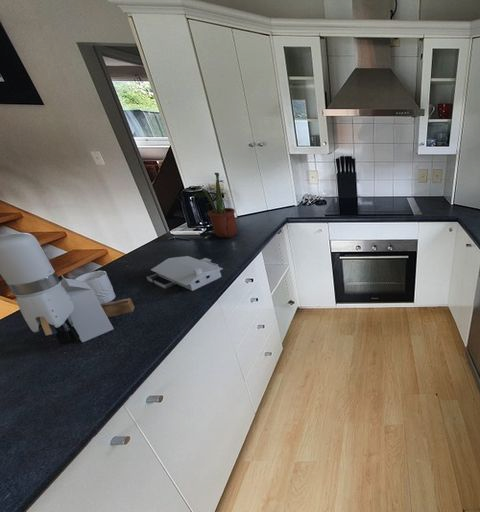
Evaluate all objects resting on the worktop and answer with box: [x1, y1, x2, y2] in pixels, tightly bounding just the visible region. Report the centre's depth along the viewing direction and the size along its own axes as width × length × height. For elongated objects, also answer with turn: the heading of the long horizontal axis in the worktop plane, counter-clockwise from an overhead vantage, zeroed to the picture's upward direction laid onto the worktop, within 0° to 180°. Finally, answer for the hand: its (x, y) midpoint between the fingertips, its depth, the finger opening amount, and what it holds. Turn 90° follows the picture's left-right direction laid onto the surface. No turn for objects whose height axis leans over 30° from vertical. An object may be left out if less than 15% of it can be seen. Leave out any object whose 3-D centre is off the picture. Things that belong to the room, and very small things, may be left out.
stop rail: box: [100, 297, 136, 318], centre depth 89 cm, size 16×3×5 cm, turn 118°
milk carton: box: [60, 274, 114, 343], centre depth 80 cm, size 7×7×19 cm
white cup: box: [74, 270, 117, 304], centre depth 96 cm, size 8×8×10 cm
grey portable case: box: [145, 255, 224, 292], centre depth 114 cm, size 25×24×7 cm
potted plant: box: [191, 172, 238, 240], centre depth 144 cm, size 17×16×35 cm
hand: (70, 340), depth 74 cm, fingers closed
